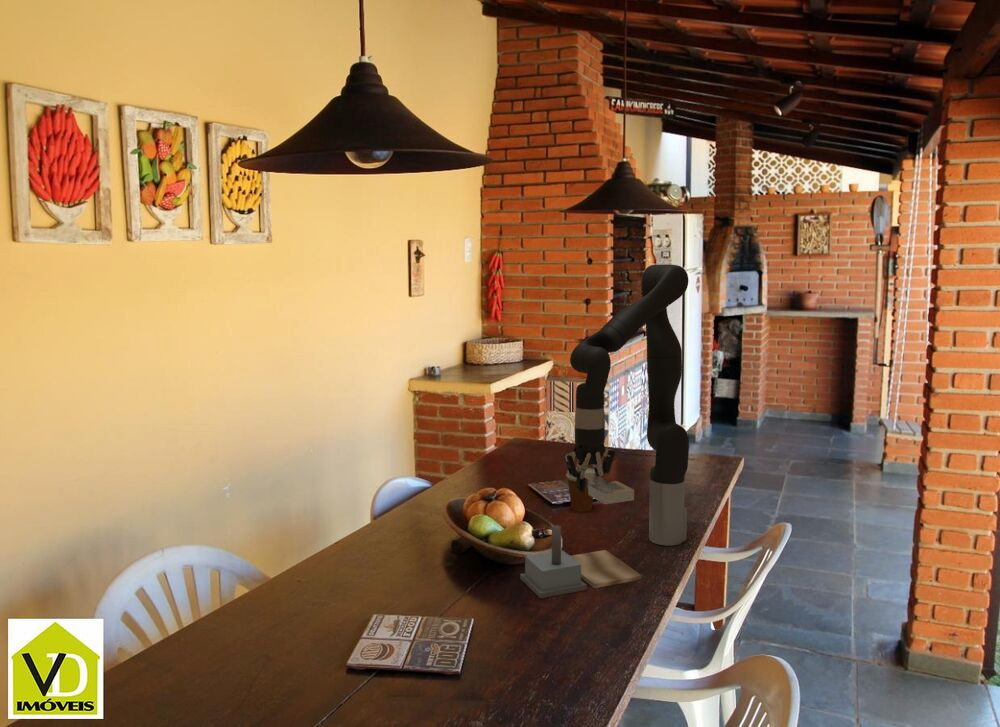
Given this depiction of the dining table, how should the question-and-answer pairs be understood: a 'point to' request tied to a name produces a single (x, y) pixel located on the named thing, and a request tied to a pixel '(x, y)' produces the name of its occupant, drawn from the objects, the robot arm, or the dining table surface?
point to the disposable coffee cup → (579, 494)
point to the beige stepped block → (607, 489)
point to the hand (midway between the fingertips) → (589, 490)
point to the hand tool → (459, 546)
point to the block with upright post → (553, 571)
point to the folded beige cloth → (604, 569)
